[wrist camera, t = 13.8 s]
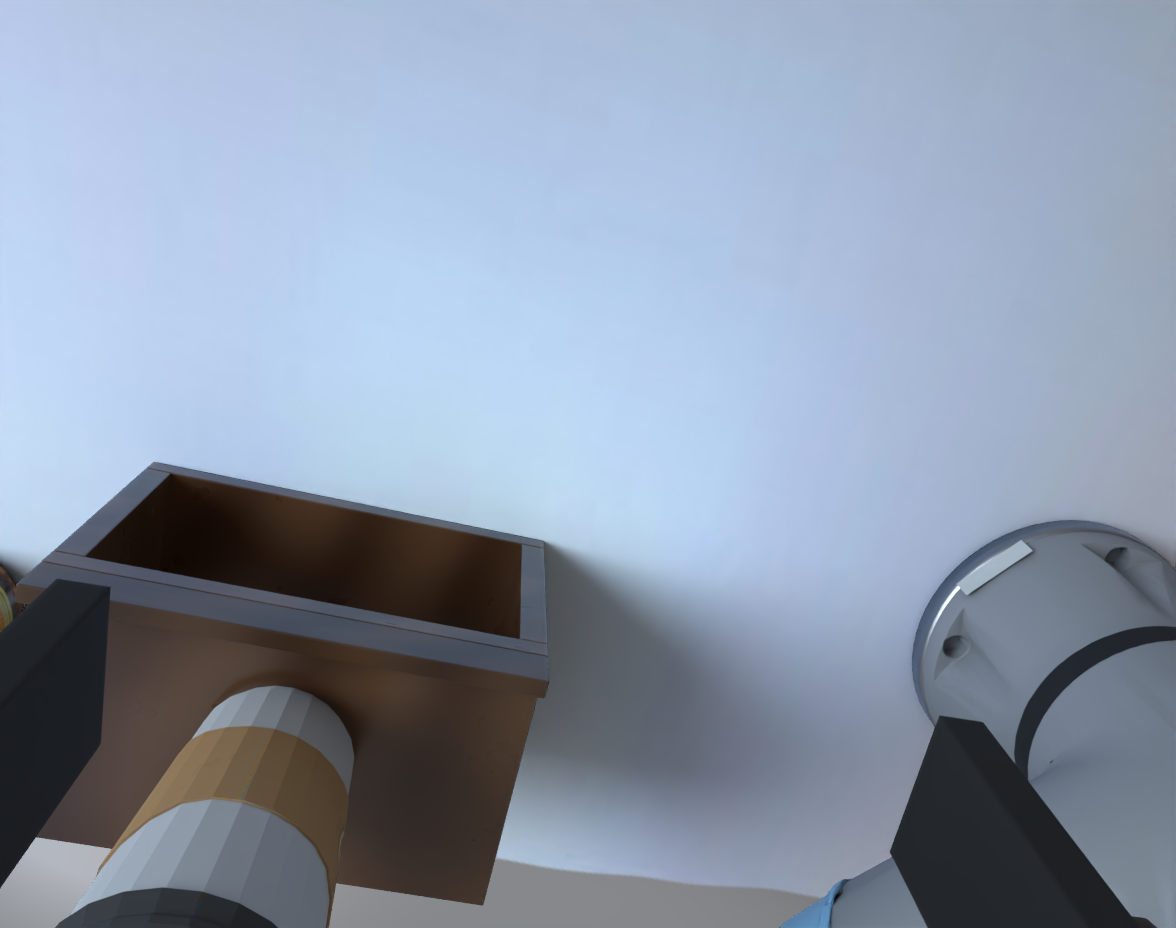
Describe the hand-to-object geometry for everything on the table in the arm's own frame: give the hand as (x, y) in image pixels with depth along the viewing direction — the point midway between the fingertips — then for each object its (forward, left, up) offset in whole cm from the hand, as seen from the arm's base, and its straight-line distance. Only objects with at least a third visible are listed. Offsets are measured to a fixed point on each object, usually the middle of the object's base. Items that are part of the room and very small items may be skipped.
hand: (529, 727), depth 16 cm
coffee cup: (-8, +17, -23) cm, 29 cm away
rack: (-8, +17, -34) cm, 39 cm away
